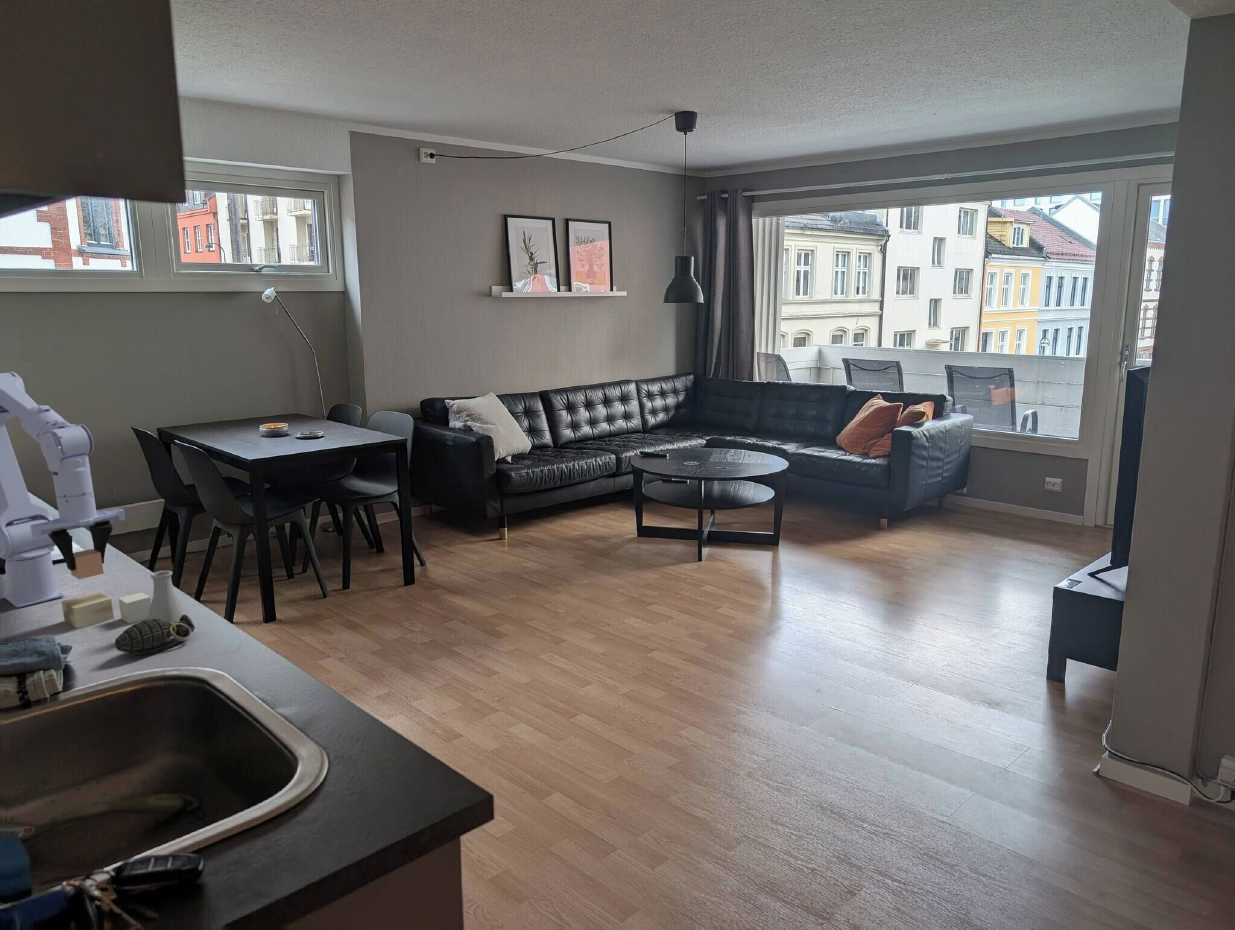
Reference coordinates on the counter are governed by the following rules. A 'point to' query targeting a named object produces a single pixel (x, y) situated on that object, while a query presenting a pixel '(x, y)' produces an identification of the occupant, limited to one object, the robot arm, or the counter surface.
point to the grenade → (153, 635)
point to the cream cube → (135, 607)
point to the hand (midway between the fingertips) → (86, 566)
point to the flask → (165, 599)
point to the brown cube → (87, 564)
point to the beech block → (87, 610)
